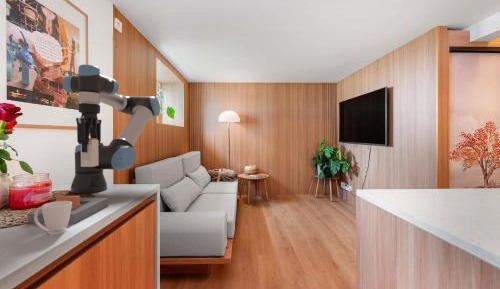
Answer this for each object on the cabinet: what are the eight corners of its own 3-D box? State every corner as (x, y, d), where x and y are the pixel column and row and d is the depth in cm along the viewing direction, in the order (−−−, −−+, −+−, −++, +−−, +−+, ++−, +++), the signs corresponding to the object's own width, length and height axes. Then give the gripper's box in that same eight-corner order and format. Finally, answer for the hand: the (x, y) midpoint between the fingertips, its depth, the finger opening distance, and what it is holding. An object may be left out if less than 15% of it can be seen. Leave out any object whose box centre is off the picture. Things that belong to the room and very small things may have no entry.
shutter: (59, 205, 85) (59, 195, 85) (80, 205, 85) (80, 195, 85) (42, 212, 78) (42, 200, 78) (65, 212, 78) (65, 201, 78)
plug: (87, 165, 105) (87, 138, 105) (98, 165, 105) (98, 138, 105) (80, 166, 101) (80, 138, 100) (92, 166, 101) (91, 138, 100)
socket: (71, 205, 96) (71, 197, 96) (108, 205, 97) (108, 197, 97) (27, 223, 76) (27, 213, 76) (73, 223, 77) (73, 214, 77)
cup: (59, 237, 67) (59, 207, 67) (23, 235, 67) (23, 206, 67) (78, 227, 74) (78, 200, 74) (45, 226, 74) (45, 199, 74)
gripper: (93, 105, 110) (93, 157, 111) (65, 100, 93) (65, 161, 94) (110, 106, 111) (110, 157, 112) (85, 101, 93) (85, 162, 94)
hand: (89, 159), depth 103 cm, fingers closed on plug, 4 cm apart
